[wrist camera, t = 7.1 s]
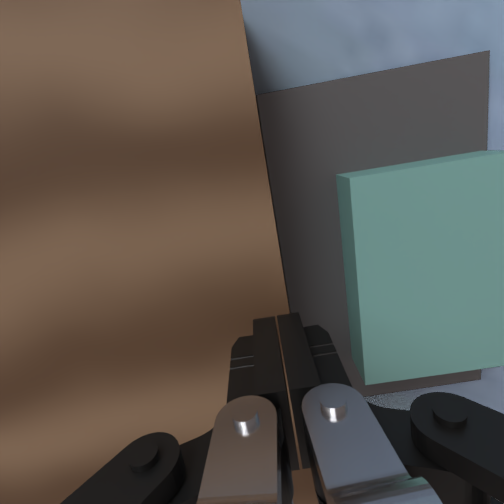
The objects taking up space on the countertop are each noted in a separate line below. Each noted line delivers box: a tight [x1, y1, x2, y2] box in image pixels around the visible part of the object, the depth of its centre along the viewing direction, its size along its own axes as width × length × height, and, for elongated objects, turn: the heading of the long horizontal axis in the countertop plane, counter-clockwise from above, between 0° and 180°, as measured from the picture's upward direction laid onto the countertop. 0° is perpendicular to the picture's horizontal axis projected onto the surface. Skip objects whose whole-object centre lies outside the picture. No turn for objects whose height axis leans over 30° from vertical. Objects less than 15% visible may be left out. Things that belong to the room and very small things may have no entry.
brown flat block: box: [0, 0, 317, 504], centre depth 14 cm, size 22×14×4 cm, turn 10°
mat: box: [256, 50, 490, 397], centre depth 15 cm, size 15×9×1 cm, turn 10°
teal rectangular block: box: [336, 150, 504, 385], centre depth 14 cm, size 9×6×2 cm, turn 9°
